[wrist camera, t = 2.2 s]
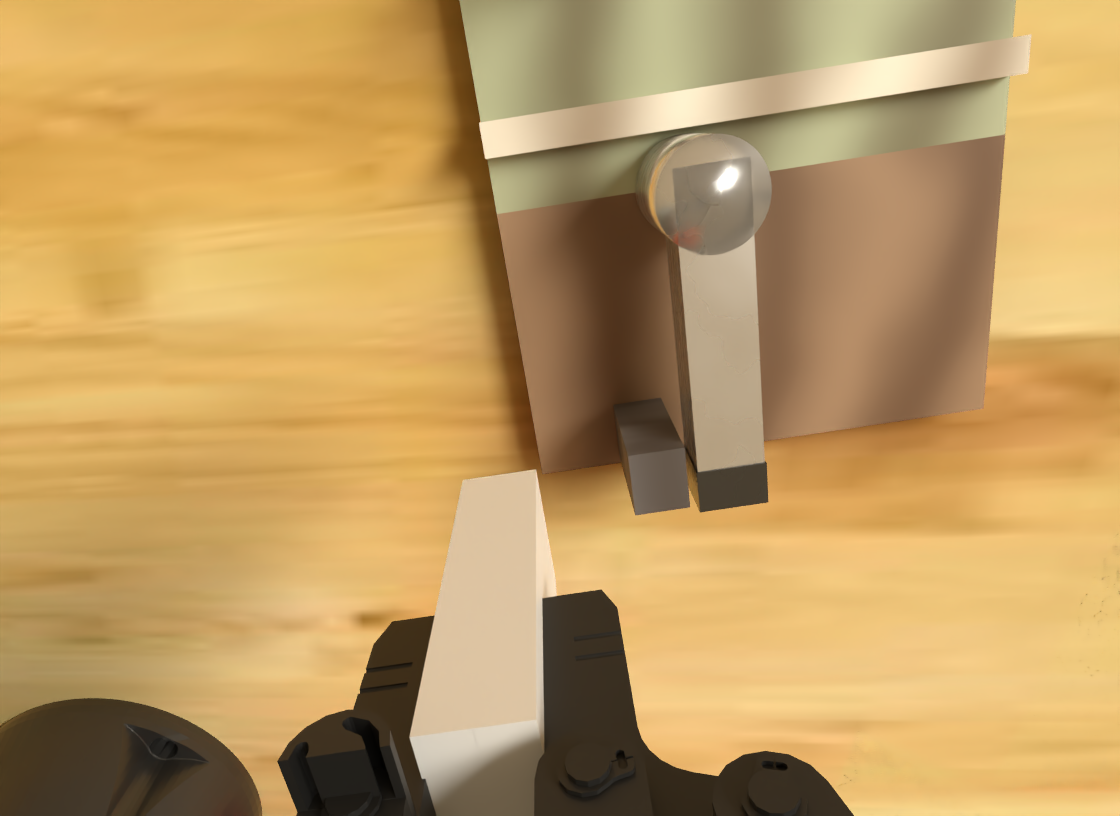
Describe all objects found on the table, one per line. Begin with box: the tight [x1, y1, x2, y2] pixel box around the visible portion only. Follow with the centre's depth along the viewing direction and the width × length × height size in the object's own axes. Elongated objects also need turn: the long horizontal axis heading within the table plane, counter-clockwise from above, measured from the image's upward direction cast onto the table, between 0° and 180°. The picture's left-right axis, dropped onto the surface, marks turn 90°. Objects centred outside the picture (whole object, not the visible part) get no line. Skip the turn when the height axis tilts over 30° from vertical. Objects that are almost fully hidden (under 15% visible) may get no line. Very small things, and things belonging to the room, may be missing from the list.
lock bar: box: [635, 133, 772, 512], centre depth 26 cm, size 13×4×5 cm, turn 8°
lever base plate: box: [459, 0, 1031, 515], centre depth 25 cm, size 19×22×6 cm
